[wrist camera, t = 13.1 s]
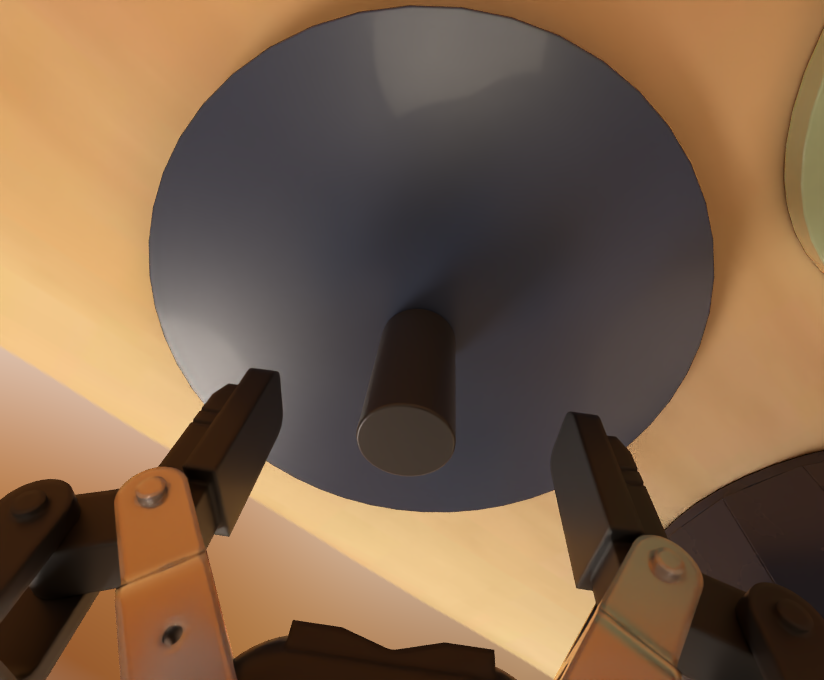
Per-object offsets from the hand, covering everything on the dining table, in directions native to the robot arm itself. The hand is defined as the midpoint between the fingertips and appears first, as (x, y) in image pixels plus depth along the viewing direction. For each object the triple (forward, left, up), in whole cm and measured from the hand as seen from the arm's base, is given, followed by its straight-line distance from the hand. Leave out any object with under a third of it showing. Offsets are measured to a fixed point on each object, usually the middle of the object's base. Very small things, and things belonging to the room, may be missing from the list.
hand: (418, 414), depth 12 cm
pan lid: (0, 0, -4) cm, 4 cm away
